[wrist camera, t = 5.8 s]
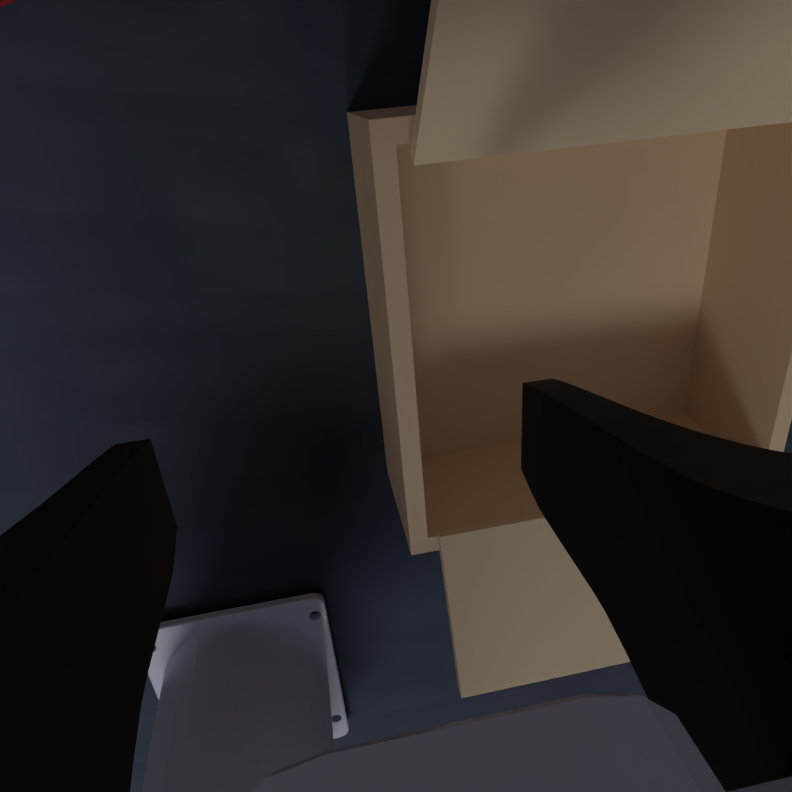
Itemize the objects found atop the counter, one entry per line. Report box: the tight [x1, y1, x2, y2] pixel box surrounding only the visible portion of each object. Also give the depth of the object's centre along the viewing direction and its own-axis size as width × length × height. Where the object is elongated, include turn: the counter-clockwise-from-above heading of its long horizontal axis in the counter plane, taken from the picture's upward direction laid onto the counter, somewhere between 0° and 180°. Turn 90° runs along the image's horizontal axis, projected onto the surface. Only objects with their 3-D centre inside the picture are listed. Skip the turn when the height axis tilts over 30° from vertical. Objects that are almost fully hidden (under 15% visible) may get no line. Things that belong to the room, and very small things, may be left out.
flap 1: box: [410, 0, 792, 166], centre depth 12 cm, size 6×11×1 cm
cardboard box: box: [347, 105, 792, 555], centre depth 20 cm, size 13×13×5 cm
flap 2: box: [437, 514, 630, 698], centre depth 21 cm, size 6×11×1 cm, turn 95°
